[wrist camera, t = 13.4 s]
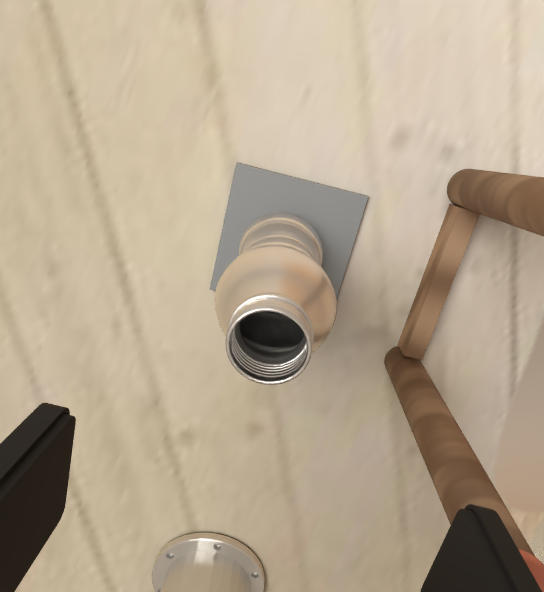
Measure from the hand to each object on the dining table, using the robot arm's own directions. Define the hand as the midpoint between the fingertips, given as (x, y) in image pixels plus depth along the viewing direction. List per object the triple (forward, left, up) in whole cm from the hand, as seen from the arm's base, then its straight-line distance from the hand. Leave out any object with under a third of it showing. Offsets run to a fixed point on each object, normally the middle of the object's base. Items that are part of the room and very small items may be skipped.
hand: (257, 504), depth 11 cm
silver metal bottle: (0, 0, -29) cm, 29 cm away
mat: (0, 0, -29) cm, 29 cm away
